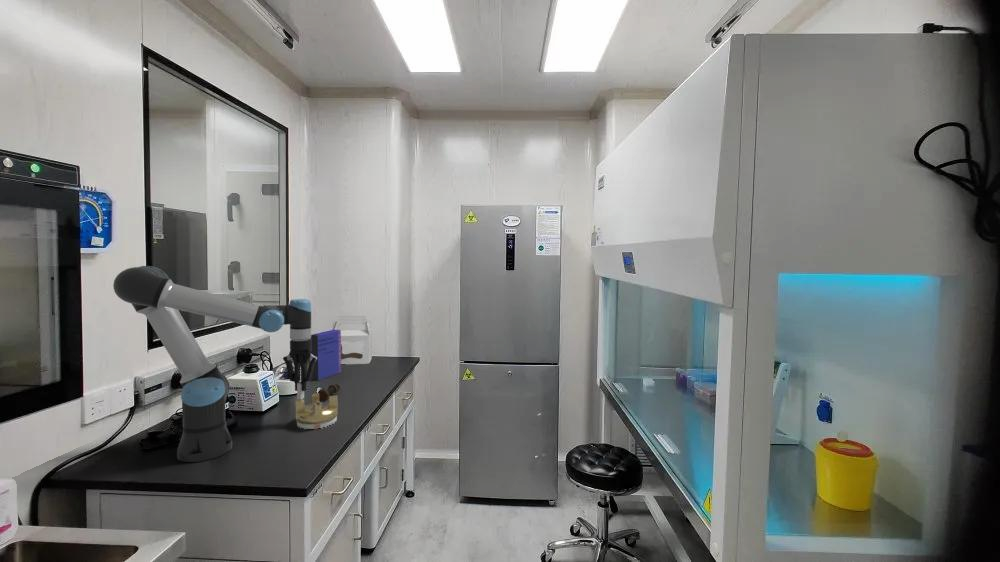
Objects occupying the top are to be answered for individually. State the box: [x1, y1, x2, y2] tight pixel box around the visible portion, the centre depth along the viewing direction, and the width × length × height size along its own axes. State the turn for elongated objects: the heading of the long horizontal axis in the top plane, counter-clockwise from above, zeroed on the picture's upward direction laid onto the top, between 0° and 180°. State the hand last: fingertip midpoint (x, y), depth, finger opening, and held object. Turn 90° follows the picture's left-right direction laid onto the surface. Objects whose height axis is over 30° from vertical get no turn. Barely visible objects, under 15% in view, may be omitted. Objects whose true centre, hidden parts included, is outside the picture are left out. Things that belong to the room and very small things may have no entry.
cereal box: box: [309, 329, 342, 382], centre depth 231 cm, size 17×5×24 cm, turn 160°
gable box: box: [332, 315, 373, 365], centre depth 263 cm, size 22×13×28 cm, turn 101°
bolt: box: [317, 383, 341, 402], centre depth 200 cm, size 6×5×15 cm
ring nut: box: [295, 392, 339, 424], centre depth 168 cm, size 15×15×7 cm
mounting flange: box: [296, 416, 338, 430], centre depth 168 cm, size 14×14×2 cm
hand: (300, 398), depth 168 cm, fingers closed
